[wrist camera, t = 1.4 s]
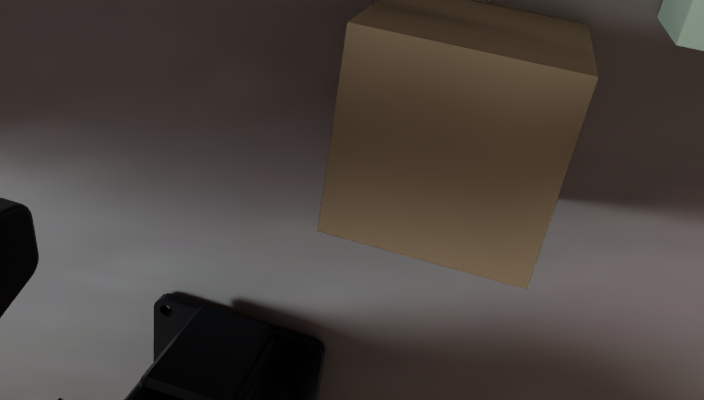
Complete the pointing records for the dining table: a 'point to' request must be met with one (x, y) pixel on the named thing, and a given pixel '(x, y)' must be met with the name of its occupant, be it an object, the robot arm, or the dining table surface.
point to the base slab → (684, 22)
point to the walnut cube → (455, 132)
